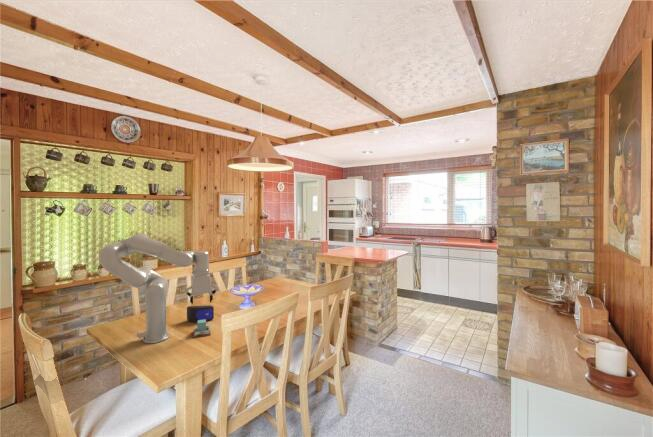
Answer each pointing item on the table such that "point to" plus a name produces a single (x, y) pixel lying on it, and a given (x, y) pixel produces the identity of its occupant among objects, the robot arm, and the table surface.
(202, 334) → the block cradle
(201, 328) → the teal block
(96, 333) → the table surface
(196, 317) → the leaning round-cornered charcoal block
